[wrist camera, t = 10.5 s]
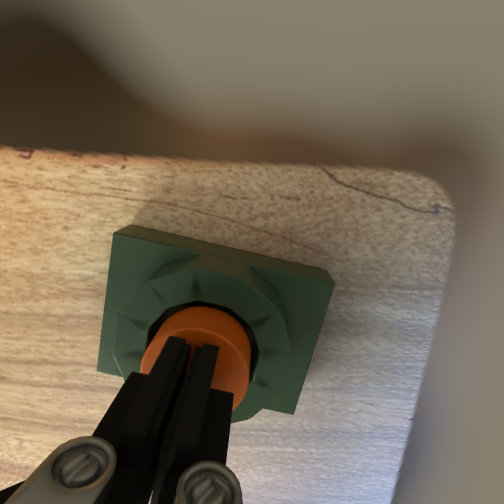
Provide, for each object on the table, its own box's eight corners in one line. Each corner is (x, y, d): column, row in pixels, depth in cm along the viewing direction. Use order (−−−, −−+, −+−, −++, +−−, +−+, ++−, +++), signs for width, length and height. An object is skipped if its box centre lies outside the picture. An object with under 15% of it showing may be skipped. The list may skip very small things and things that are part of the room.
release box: (328, 269, 15) (346, 301, 12) (291, 390, 17) (297, 449, 13) (129, 223, 15) (89, 242, 11) (112, 351, 16) (73, 400, 13)
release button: (260, 317, 12) (259, 342, 11) (239, 398, 13) (235, 433, 12) (164, 295, 12) (147, 317, 10) (149, 378, 13) (132, 411, 11)
